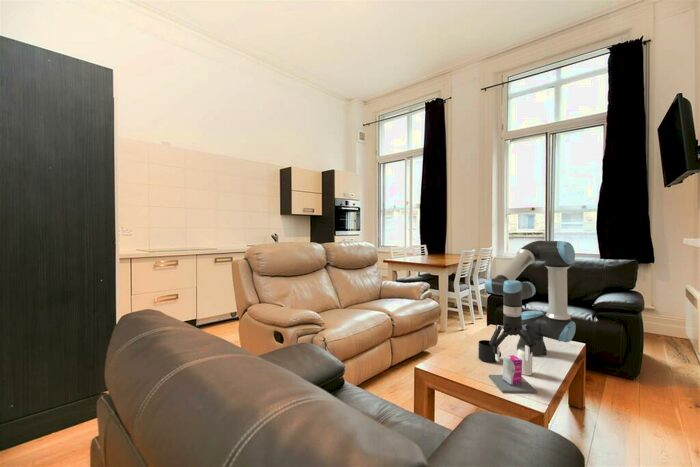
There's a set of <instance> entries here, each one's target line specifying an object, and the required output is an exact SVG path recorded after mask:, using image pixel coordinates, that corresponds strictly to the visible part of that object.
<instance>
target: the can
mask: <svg viewBox="0 0 700 467" xmlns="http://www.w3.org/2000/svg"><path fill="white" fill-rule="evenodd" d="M517 357H518V358H519V359H521V360H522V376H527V377H529V376H532V374H533V356H532V353H531V354H530V362H528V361H527V360H525V347H519V349H518V350H517Z"/></svg>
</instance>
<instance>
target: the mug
mask: <svg viewBox="0 0 700 467" xmlns="http://www.w3.org/2000/svg"><path fill="white" fill-rule="evenodd" d="M489 342H490V340H487V339H482V340H479V341H478V352H477V353H478V359H479V360H480V361H481V362H484V363H489V364H491V363H492V364H493V363H497V361H496V360H495V353H494V352H493V346H491V345H490V344H489ZM501 357H502V353H501V350H499V359H500V358H501Z"/></svg>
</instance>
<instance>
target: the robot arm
mask: <svg viewBox="0 0 700 467" xmlns="http://www.w3.org/2000/svg"><path fill="white" fill-rule="evenodd" d="M575 260H576V253H575V249H574V246H573V245H572V243H570V242H568V241H564V240H563V241H562V240H535V241H531V242H529V243H528V244H525V245H524V246H522V247H520V249H519V250H518V251H517V252H516V256H515V257H514V258H512V259H511V261H510V262H509V263H508V264H507V265H506V266H505V267H504V268H502V270H501V271H500V272H499V273H498V274H497V275H496V276H495V277H494V278H493V277H488V278H487V279H485V281H484V290H485V291H486V292H487V293H490V294H494V295H501V296H503V303H502V304H503V308H502V309H503V310H502V312H503V318H502V319H503V320H502V322H503V325H499V324H496V327H495V330H494V332H493V334H492V335H491V338H490V340H489V341H490V342H489V344H490V345H491V346H493V352H494V353H495V360H496V361H497V362H498V363H499V362H500V358H499V351H500V347H499V346H500V344H502V343H503V341H504V340H505V339H506V338H507V337H509V336H511V337H512V336H519V339H518V341H517V344H516V350H517V351H518V349H519V347H525V360H527V361H528V362H530V354H531V353H532V357H544V356H546V355H547V352H548V351H547V347H546V344H545V342H544V341H545V340H544V338H547V339H550V340H555V341H558V342H563V343H570V342H571V341H572V340H573V339H574V336H575V334H576V328H577V326H576V322H574V321H572V317H571V315H570V314H569V312H568V269H569V268H571V265H572V264H574V263H575ZM534 262H535V263H536V262H543V263H544V267H545V268H546V269H547V279H548V280H547V281H548V283H547V284H548V286H547V290H548V291H547V293H548V311H547V312H546V313H545V314H544V311H540V310H525V311H523V304H522V302H523V300H526V299H529V298H531V297H533V296H534V295H536V287H535V285H534V284H533V283H532V282H530V281H522V282H521V281H519V280H516V279H517V278H518V277H519V276H520V275H521V273H522V272H524V270H525V269H526V268H527V267H528V266H529V265H532V264H533V263H534ZM501 331H502V332H501ZM497 362H496V363H497Z"/></svg>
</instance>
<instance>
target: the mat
mask: <svg viewBox="0 0 700 467" xmlns="http://www.w3.org/2000/svg"><path fill="white" fill-rule="evenodd" d="M488 378H489V379H490V380H491V381H492V382H493V384H494V385H495V386H496V387H497V389H499V391H500V392H501V393H503V394H504V393H505V394H508V393H509V394H538V389H536V388H535V387H534V386H533V385H532V384H530V383H529V381H527V380H526V379H525V378H524V377H523V376H522V380H521V384H520V385H509V384H508V383H506V382H505V381H503V374H488Z"/></svg>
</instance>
